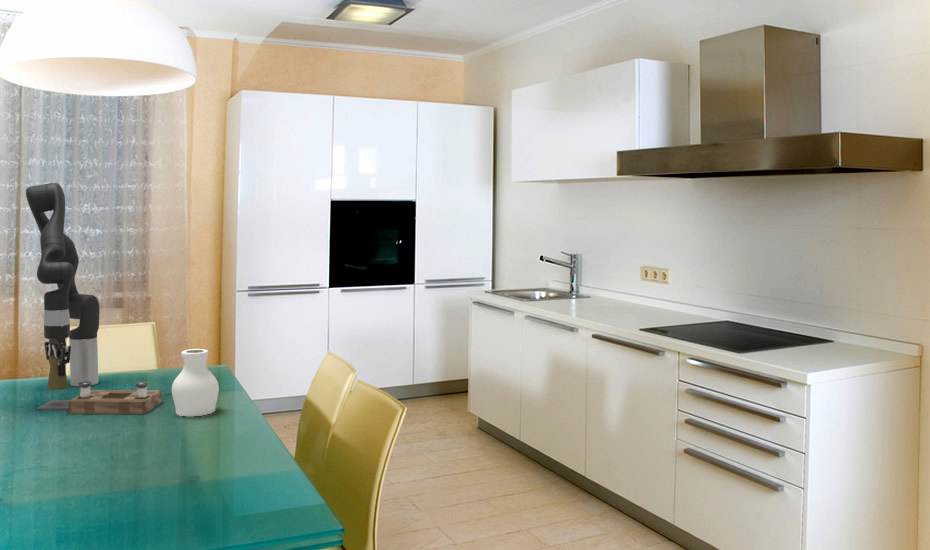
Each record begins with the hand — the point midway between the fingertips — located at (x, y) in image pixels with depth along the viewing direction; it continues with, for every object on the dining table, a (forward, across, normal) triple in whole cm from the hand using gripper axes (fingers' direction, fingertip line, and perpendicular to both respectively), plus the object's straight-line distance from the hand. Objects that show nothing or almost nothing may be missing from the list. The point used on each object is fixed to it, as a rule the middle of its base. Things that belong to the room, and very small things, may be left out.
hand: (58, 374), depth 248 cm
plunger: (+10, +10, +4) cm, 15 cm away
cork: (+5, 0, 0) cm, 5 cm away
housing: (+10, +16, +11) cm, 22 cm away
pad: (+10, 0, 0) cm, 10 cm away
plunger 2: (+10, +24, +15) cm, 30 cm away
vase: (+11, +40, +25) cm, 48 cm away
